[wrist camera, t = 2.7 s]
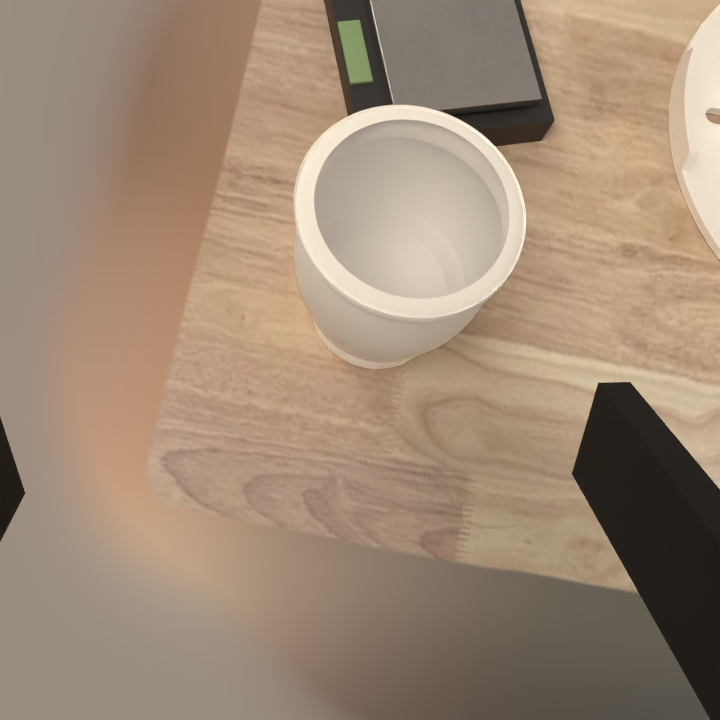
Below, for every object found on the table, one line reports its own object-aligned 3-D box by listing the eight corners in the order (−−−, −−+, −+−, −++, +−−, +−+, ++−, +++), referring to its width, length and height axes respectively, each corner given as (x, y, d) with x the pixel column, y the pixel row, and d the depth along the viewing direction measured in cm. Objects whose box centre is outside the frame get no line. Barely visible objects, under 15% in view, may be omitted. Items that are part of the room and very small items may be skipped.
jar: (265, 335, 41) (247, 240, 26) (342, 212, 43) (364, 63, 29) (406, 414, 40) (467, 363, 26) (475, 286, 43) (566, 173, 29)
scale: (323, -2, 47) (325, -32, 45) (497, -16, 49) (509, -46, 47) (357, 162, 44) (361, 141, 42) (541, 140, 46) (555, 118, 44)
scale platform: (360, -26, 44) (361, -36, 44) (498, -37, 46) (501, -46, 45) (393, 121, 42) (395, 114, 41) (538, 105, 43) (542, 98, 43)
